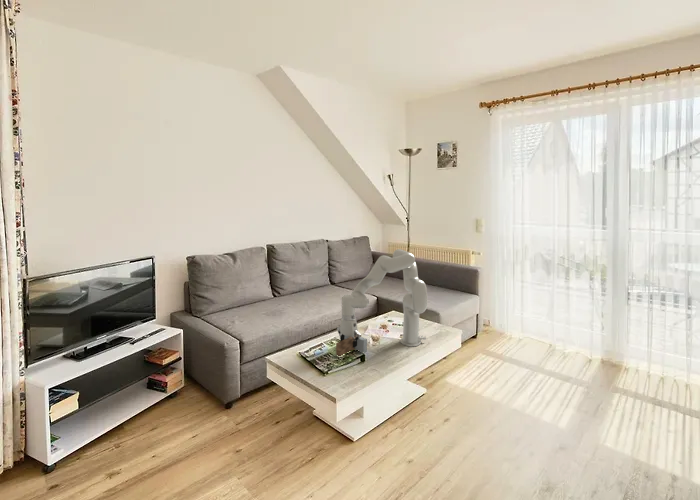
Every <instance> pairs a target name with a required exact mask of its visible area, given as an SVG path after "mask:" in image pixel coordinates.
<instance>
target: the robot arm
mask: <svg viewBox="0 0 700 500" xmlns="http://www.w3.org/2000/svg"><path fill="white" fill-rule="evenodd" d="M400 271H402V273H403V286H404V289H405V291H407V293H406V294H404V296H403V299H402V308H403V322H402V323H403V324H402V325H403V328H402V330H403V331H402V337H401V338H400V341H399V342H400V343H401V345H403V346H406V347H418V346H420V345H421V344H422V343H421V342H422V340H423V341H425V340H427V336H426V335H425V336H423V335H422V334H421V335H419V332H420V329H419V328H420V314H423V313H424V312H425V311H426V310H427V308H428V288H427V284H426V283H425V282H424V281H423V280H421V278H419V275H418V274H419V273H418V272H419V271H418V265H417V263H416V257H415V255H414V254H413V253H411V252H409V251H408V250H407V251H406V250H404V249H401V248H399V249H395V250H394V251H393V254H392V257H391V256H388V255H384V254H383V255H380V256H379V257H378V258H377V260H376V262H375V263H374V264H373V266H372V268H371V269H370V271H369V273H368V274H367V276H365V277H364V278H362V279H361V280H360V281H359V282H358V283H357V285H356V286H355V287H354V289H353V290H352V292H351V294H345V295H342V296H341V318H340V324H339V326H338V327H336V331H337V332H338V333H337V334H338V336H339V340H340V341H342V340H344V339H345V336H344V335H346V336H349V337H352V338H353V340H354V341H353V347H356V346H357V340H358V339H359V338H360V336H361V337H362V334H361V333H360V332H359V330H358V322H357V317H356V315H355V314H356V309H365V308H367V307H368V306H369V305H370V300H369V298H368V296H366V295H365V294H366V292H368V290H369V289H370V288H372V287H373V286H378V285H380V284H381V283H382V280H384V277H385V276H386V274H387V273H390V274H393V273H397V272H400ZM356 335H357V336H356ZM354 336H355V338H354ZM340 341H339V342H340Z"/></svg>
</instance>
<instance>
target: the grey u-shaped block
mask: <svg viewBox="0 0 700 500" xmlns="http://www.w3.org/2000/svg"><path fill="white" fill-rule="evenodd" d="M344 336H345V339H347V338H349V336H346V335H344ZM355 349H356V350H359V351H361V352H364V353H363V354H365V353H367V352H368V338H365V337H362V336H361V337H360V338H359V339H358V340H357V346H356V347H355ZM356 350H355V351H356ZM361 352H360V353H361Z"/></svg>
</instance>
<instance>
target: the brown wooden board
mask: <svg viewBox="0 0 700 500" xmlns="http://www.w3.org/2000/svg"><path fill="white" fill-rule="evenodd" d="M356 336H357V335H356ZM360 337H362V335H361V336H360ZM354 338H355V336H354ZM353 341H354V340H353V338H352V337H349V338H347V339H344V340H342V341H337V342H336V343H335V356H336V355H338V356H341V355H343V354H345V353H347V352H349V351H351V350H354V349H355V347H353Z"/></svg>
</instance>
